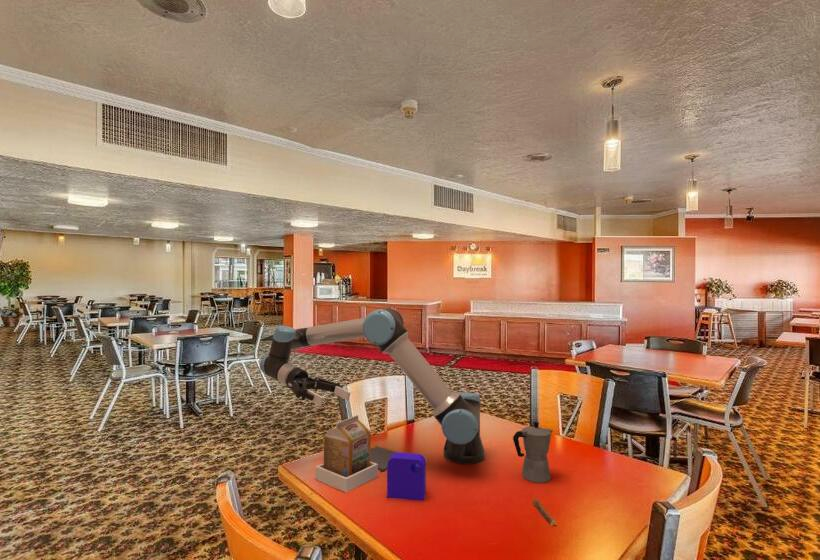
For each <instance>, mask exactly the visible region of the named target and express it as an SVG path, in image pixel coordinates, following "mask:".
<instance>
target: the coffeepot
mask: <svg viewBox="0 0 820 560" xmlns="http://www.w3.org/2000/svg"><path fill="white" fill-rule="evenodd" d="M539 425H540V423H539V422H538V421H534V422H533V426H526V427H523V428H521V430H519V431H516V432H515V433H514V435H513V437H512V440H513V444H514V447H515V450H516V454H517V457H519V458H520V457H524V459H523V463H522V464H523V465H522V471H521V475H522V478H523V479H525V480H526V481H528V482H532V483H535V484H536V483H538V484H544V483H545V484H546V483H548V482H550V480H551V479H552V477H551V476H552V475H551V470H550V465H549V459H548V454H549V449H550V444H551V436H552V433H553V432H554V430H552V429H551V428H547V427H546V428H543V427H539ZM519 438H522V441H523V446H524V451H525V453H523V452H522V451H521V446H520V440H519Z"/></svg>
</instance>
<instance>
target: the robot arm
mask: <svg viewBox="0 0 820 560" xmlns="http://www.w3.org/2000/svg"><path fill="white" fill-rule="evenodd" d="M404 325H405V321H404V318H403V316H402V314H401V313H400V312H399V311H397V310H396V309H393V308H383V309H381V308H380V309H376V310H373V311H371V312H370V313H368V314H367V316H366V317H362V318H356V319H349V320H344V321H343V320H342V321H338V322H332V323H327V324H321V325H314V326H309V327H302V328H294V327H292V326H291V327H290V326H287V325H277V326H276V327H275V330H274V332H273V335H272V340H271V344H270V348H269V352H268V354H266V355H264V356H263V357H262V359H261V360H260V362H259V370H260V372H262V373H263V374H265V375H266V376H267V377H269V378H271V379H273V380H275V381H276V382H277V381H278V382H279V383H281V384H283V385H284V386H285V387H287V388H288V389H290V390H291V392H292V393H293V394H294V396H295V398H297V399H300V400H301V401H305V400H307V401H310V402H312V403H314V404H316V405H317V406H319V407H322V406H323V402H324V397H323V396H322V395H320V394H318V393H316V392H314V391H317V390H322V391H326V392H331V393H333V394H334V395H336V396H338V397H340V398H341V399H344V400H345V401H349V400H350V396H351V392H350V391H349V390H345V389H344V388H342V387H341V384H340V383H337V382H334V381H330V380H326V379H323V378H320V377H318V376H315V377H314V378H313V377H311V376H309V373H308V372H307V371H306V370H304V369H302V368H300V367H299V366H298V365H294V364H292V363H290V362H289V360H290V357H291V353H292V351H293V350H296V349H300V348H307V347H312V346H317V345H325V344H331V343H337V342H345V341H350V340H355V339H364V338H365V339H366V340H367V342H369V343H371V345H372V344H373V345H375V346H376V347H377V348H378V349H379V350H380V352H381V353H382V354H383V355H385V354H386V355H389V356H390V357H391V358H392V360H393V361H394V362H395V363H396V365H398V368H400V369H401V371H402V372H403V374H405V375H406V377H407V378H408V379H409V380H410V382H411V383H412V384H413V385H414V387H415V388H416V389H417V390H418V392H419V393H420V394H421V395H422V397H423V398H424V399H425V400H426V401H427V403H428V404H429V405H430V406H431V408H432V409H433V417H434V418H435V420H436V421H437V422H438V423H439V425H440V426H441V431H442V433H443V436H444V437H445V438H446V440H445V443H444V446H443V449H442V450H443V451H442V453H443V457H444V459H446V460H447V461H450V462H453V463H458V464H463V465H464V464H466V465H467V464H468V465H469V464H471V465H472V464H477V463H480V462H482V461H483V460H484V459H485V458H486V457H485V455H486V454H485V452H486V451H485V448H484V444H483V441H482V437H481V397H480V395H479V394H477V393H474V392H466V391H465V392H464V391H454V392H453V391H452V390H451V388H450V387H449V386H448V385H447V384H446V383H445V381H444V380H443V378H441V376H440V375H439V374H438V373H437V372H436V370H435V369H434V368H433V367H432V366H431V365H430V363H429V362H428V361H427V360H426V358H425V356H423V355H422V353H421V352H420V350H419V349H418V348H417V347H416V346H415V345H414V344H413V342H412V341H411V340H410V339H409V331H408V330H407V328H406V327H405V326H404ZM312 390H313V391H312Z"/></svg>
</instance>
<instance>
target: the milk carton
mask: <svg viewBox="0 0 820 560" xmlns="http://www.w3.org/2000/svg"><path fill="white" fill-rule="evenodd" d="M370 449H371V431H370V430H369V428H368V427H366V425H365V424H364V422H362V421H361V420H360V419H359V415H358V414H357V415H354V416H352V417H348V418H346V419H343V420H340V421H339V422H336V425H335V428H332V429H331V430H329V431H328V432H326V433H325V434H324V436H323V463H324V469H327V470H329V471H331V472H334V473H336V474H339V475H341V476H344V477H348V476H350V475H353V474H355V473H357V472H359V471H361V470H363V469H365V468H368V467H370Z"/></svg>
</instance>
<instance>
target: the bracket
mask: <svg viewBox="0 0 820 560" xmlns="http://www.w3.org/2000/svg"><path fill="white" fill-rule="evenodd" d="M395 452H396V451H395ZM426 465H427V460H426V457H425V456H424V455H423V454H421V453H412V452H398V451H397V452H396V453H393V454H392V456H391V457H390V459H389V461H388V464H387V470H386V476H387V477H386V480H387V481H386V498H388V499H398V500H408V501H409V500H410V501H418V502H419V501H420V502H421V501H422V502H424V501H425V497H426V493H427V492H426V490H427V489H426V488H427V487H426V485H427V479H426V478H427V474H426V473H427V466H426Z"/></svg>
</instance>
